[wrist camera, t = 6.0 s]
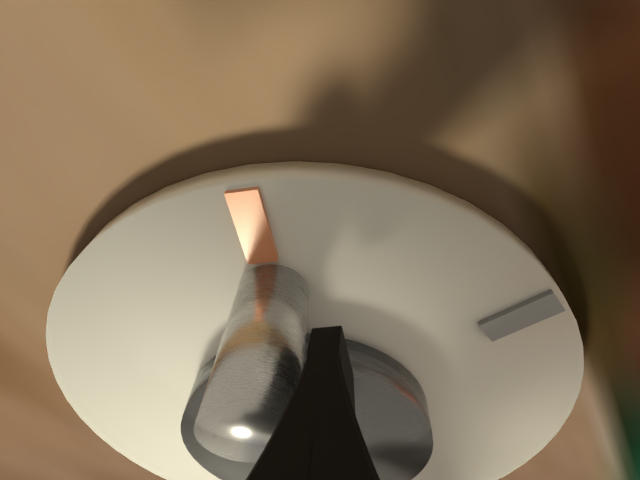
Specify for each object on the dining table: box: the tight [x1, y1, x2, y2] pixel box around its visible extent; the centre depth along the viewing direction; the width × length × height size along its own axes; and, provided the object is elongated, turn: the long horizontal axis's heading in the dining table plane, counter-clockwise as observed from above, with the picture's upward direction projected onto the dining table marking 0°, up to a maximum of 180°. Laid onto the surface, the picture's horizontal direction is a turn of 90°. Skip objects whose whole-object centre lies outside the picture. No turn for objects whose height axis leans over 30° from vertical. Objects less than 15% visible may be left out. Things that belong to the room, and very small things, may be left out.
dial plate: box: [46, 161, 584, 480], centre depth 18 cm, size 22×22×1 cm
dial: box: [181, 264, 433, 480], centre depth 15 cm, size 13×10×5 cm
